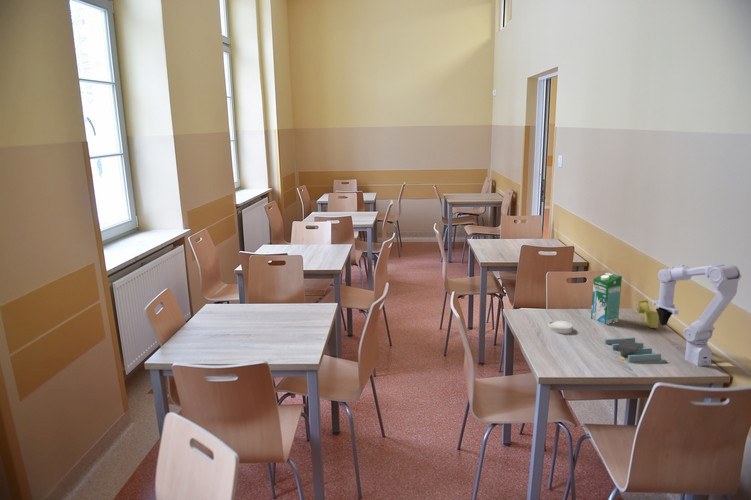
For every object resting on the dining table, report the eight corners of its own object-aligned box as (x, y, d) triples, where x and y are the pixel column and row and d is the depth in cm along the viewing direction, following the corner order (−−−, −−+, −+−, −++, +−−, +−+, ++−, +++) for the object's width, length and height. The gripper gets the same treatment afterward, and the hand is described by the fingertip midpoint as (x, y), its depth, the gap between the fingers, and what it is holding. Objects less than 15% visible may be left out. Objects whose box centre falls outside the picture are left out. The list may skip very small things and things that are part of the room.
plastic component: (657, 329, 253) (659, 310, 251) (641, 329, 255) (642, 309, 253) (646, 316, 272) (648, 297, 270) (631, 315, 274) (632, 297, 272)
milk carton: (590, 321, 266) (593, 274, 261) (603, 318, 270) (607, 271, 264) (604, 327, 258) (608, 278, 253) (618, 324, 262) (622, 275, 256)
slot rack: (666, 362, 218) (667, 354, 217) (625, 365, 216) (626, 357, 215) (636, 343, 238) (636, 336, 237) (598, 345, 236) (599, 338, 235)
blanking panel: (638, 343, 224) (620, 340, 228) (636, 349, 218) (618, 346, 221) (638, 347, 225) (620, 344, 228) (636, 354, 218) (617, 351, 222)
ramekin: (552, 328, 258) (553, 318, 256) (575, 333, 251) (576, 323, 249) (543, 335, 249) (544, 325, 248) (567, 340, 242) (567, 330, 241)
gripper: (686, 299, 223) (682, 329, 226) (664, 290, 237) (661, 318, 240) (670, 300, 222) (667, 330, 225) (649, 290, 236) (646, 319, 239)
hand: (663, 324), depth 232 cm, fingers closed
